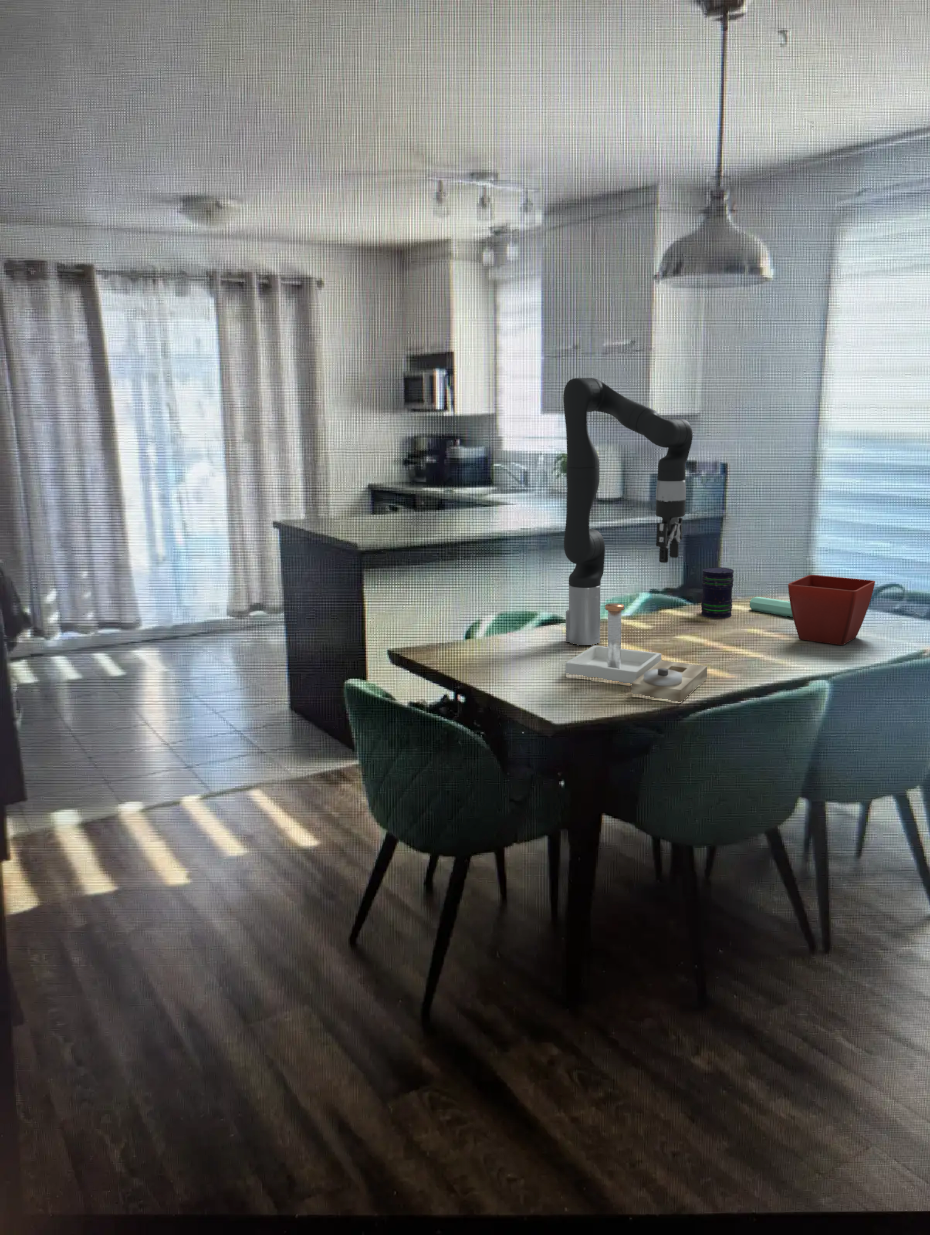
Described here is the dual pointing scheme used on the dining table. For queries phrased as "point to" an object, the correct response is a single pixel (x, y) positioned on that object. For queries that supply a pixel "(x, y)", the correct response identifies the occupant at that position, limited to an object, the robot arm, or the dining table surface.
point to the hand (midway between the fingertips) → (668, 559)
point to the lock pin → (614, 634)
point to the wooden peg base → (670, 680)
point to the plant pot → (829, 607)
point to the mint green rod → (771, 606)
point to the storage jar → (717, 592)
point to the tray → (597, 666)
